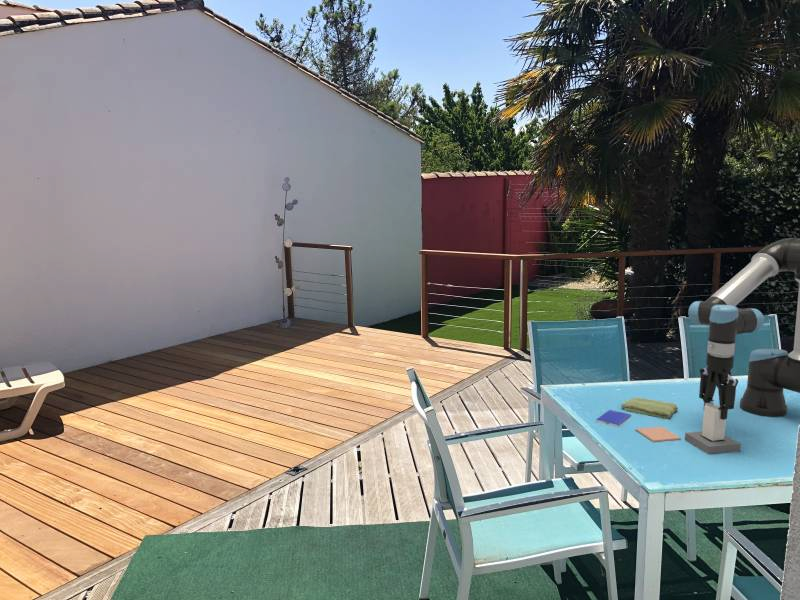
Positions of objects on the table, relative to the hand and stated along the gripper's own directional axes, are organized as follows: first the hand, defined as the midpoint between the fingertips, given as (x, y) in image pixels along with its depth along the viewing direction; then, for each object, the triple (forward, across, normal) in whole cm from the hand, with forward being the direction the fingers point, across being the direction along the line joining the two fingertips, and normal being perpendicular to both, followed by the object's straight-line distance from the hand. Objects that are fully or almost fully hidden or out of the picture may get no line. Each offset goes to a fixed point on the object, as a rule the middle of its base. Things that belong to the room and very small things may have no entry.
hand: (713, 424), depth 191 cm
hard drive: (+8, -28, -17) cm, 34 cm away
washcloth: (+8, -33, +2) cm, 34 cm away
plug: (+4, 0, 0) cm, 4 cm away
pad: (+7, -12, -11) cm, 18 cm away
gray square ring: (+7, 0, 0) cm, 7 cm away
